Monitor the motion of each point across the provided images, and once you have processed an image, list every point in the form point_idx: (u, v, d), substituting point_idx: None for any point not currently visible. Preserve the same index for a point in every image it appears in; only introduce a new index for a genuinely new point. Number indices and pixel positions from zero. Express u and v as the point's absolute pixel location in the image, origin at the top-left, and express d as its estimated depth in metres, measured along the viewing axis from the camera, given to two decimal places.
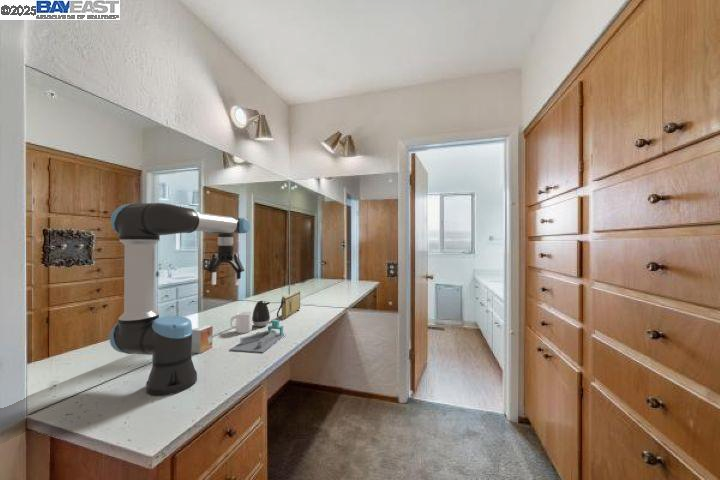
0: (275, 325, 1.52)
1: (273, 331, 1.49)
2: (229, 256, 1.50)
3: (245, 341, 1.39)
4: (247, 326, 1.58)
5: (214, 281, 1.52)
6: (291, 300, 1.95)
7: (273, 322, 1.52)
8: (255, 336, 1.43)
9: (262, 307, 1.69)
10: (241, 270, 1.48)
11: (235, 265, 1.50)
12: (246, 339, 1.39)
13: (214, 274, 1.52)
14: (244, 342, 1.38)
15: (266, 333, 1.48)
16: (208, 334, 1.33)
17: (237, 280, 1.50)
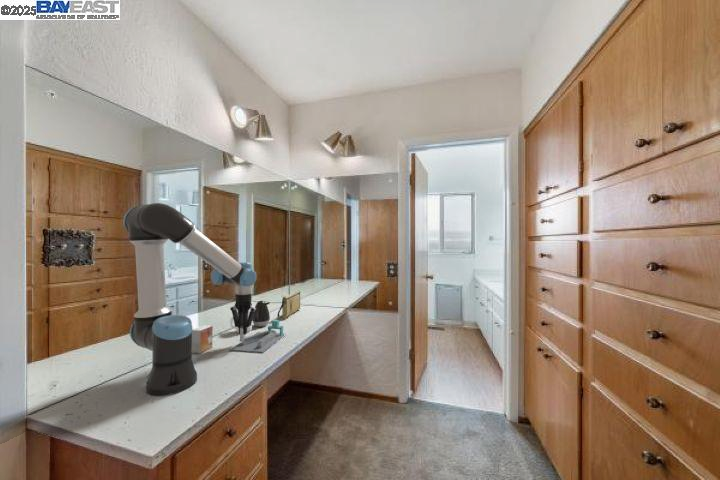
0: (275, 325, 1.52)
1: (273, 331, 1.49)
2: (247, 305, 1.39)
3: (246, 341, 1.38)
4: None
5: (242, 337, 1.40)
6: (291, 300, 1.95)
7: (273, 322, 1.52)
8: (256, 336, 1.42)
9: (262, 307, 1.69)
10: (248, 326, 1.38)
11: (246, 319, 1.40)
12: (247, 339, 1.38)
13: None
14: (245, 342, 1.38)
15: (266, 333, 1.48)
16: (208, 334, 1.33)
17: (243, 336, 1.40)
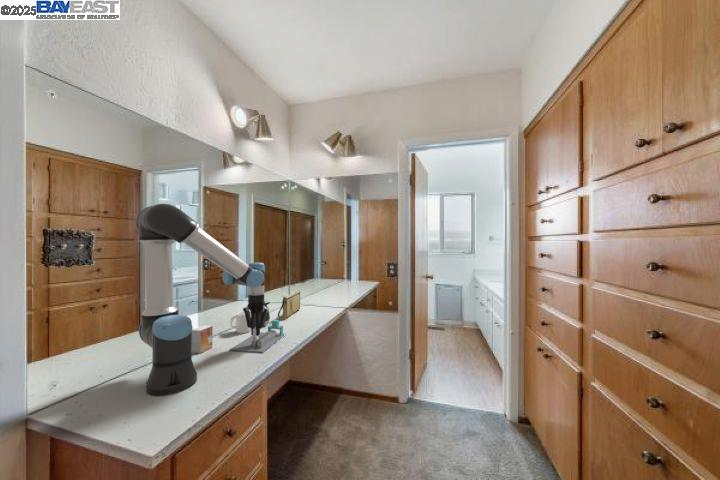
0: (275, 325, 1.52)
1: (273, 331, 1.49)
2: (260, 306, 1.37)
3: None
4: (247, 326, 1.58)
5: (255, 338, 1.39)
6: (292, 300, 1.95)
7: (273, 322, 1.52)
8: None
9: None
10: (261, 327, 1.37)
11: (259, 320, 1.39)
12: None
13: None
14: (256, 345, 1.35)
15: None
16: (208, 334, 1.33)
17: (256, 337, 1.38)
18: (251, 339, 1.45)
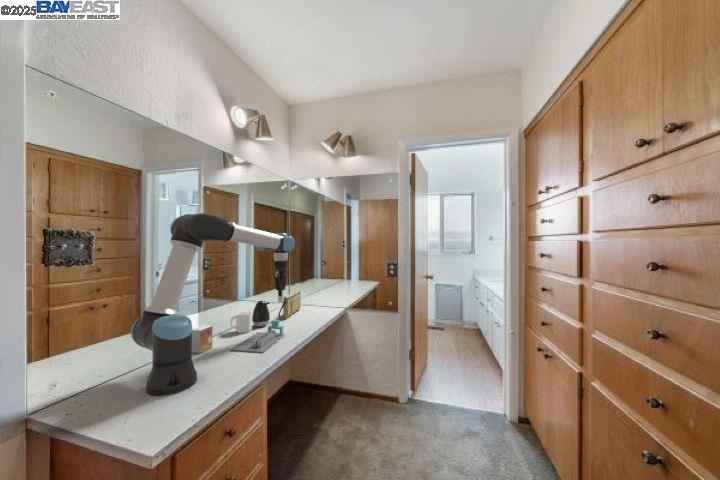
0: (275, 325, 1.52)
1: (273, 331, 1.49)
2: None
3: None
4: (247, 326, 1.58)
5: None
6: (292, 300, 1.95)
7: (273, 322, 1.52)
8: None
9: (262, 307, 1.69)
10: (276, 289, 1.57)
11: None
12: None
13: None
14: (256, 345, 1.35)
15: None
16: (208, 334, 1.33)
17: (279, 297, 1.60)
18: (251, 339, 1.45)
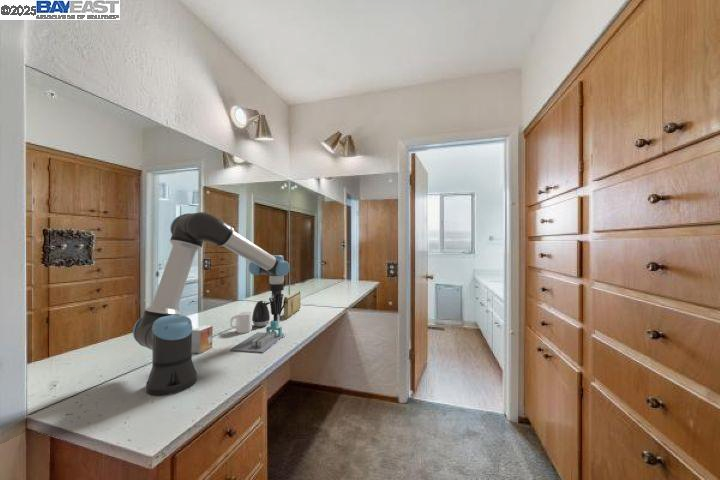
0: (274, 326, 1.51)
1: (273, 331, 1.49)
2: None
3: None
4: (247, 326, 1.58)
5: None
6: (292, 300, 1.95)
7: (272, 323, 1.51)
8: None
9: (262, 307, 1.69)
10: (271, 313, 1.51)
11: None
12: None
13: None
14: (256, 345, 1.35)
15: None
16: (208, 334, 1.33)
17: None
18: (251, 339, 1.45)
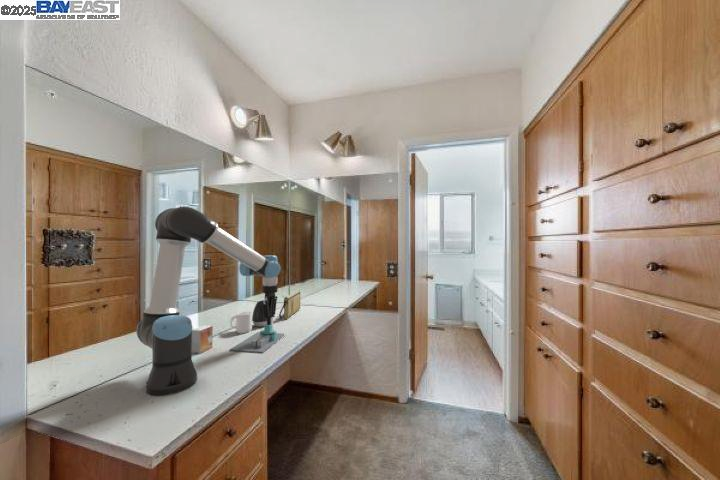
0: (268, 330, 1.44)
1: None
2: None
3: None
4: (247, 326, 1.58)
5: None
6: (292, 300, 1.95)
7: (265, 327, 1.44)
8: None
9: (262, 307, 1.69)
10: None
11: None
12: None
13: None
14: (256, 345, 1.35)
15: None
16: (208, 334, 1.33)
17: None
18: (251, 339, 1.45)
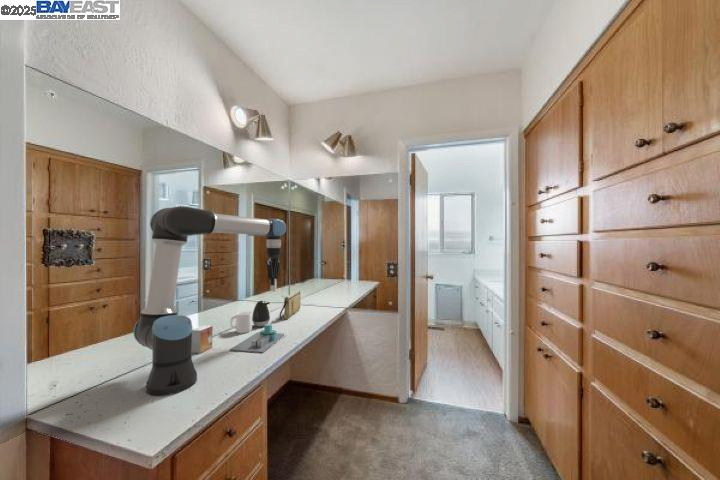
0: (268, 330, 1.44)
1: None
2: None
3: None
4: (247, 326, 1.58)
5: None
6: (293, 300, 1.95)
7: (265, 327, 1.44)
8: None
9: (262, 307, 1.69)
10: (268, 277, 1.49)
11: None
12: None
13: None
14: (256, 345, 1.35)
15: None
16: (208, 334, 1.33)
17: (272, 286, 1.52)
18: (251, 339, 1.45)
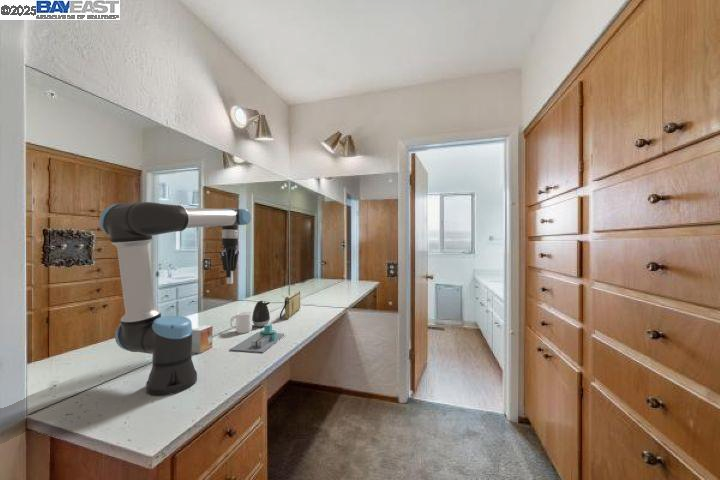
0: (268, 330, 1.44)
1: None
2: None
3: None
4: (247, 326, 1.58)
5: None
6: (293, 300, 1.95)
7: (265, 327, 1.44)
8: None
9: (262, 307, 1.69)
10: (223, 269, 1.43)
11: None
12: None
13: None
14: (256, 345, 1.35)
15: None
16: (208, 334, 1.33)
17: (228, 278, 1.45)
18: (251, 339, 1.45)
